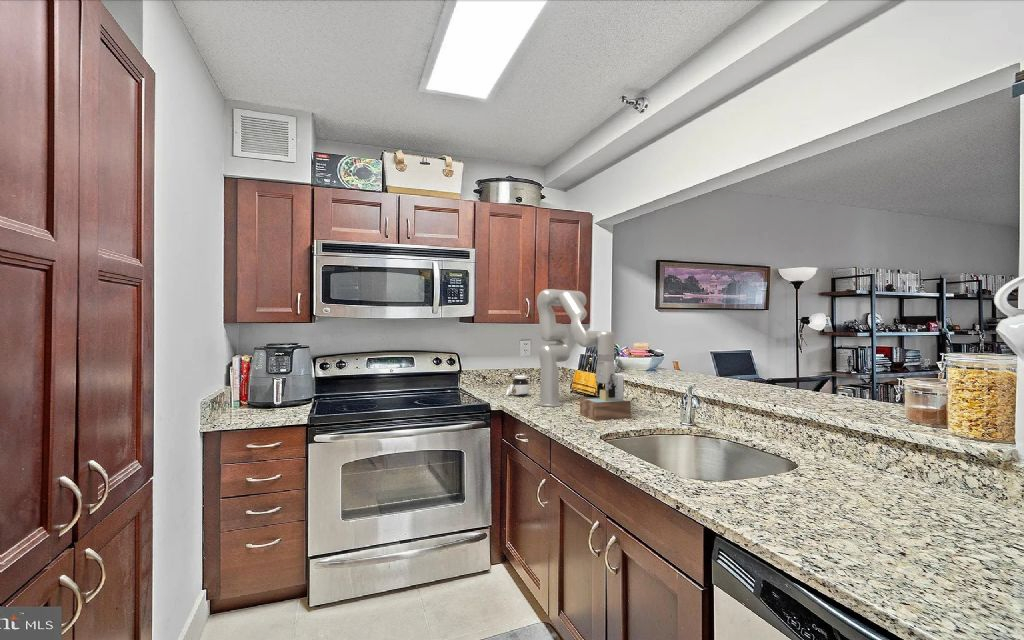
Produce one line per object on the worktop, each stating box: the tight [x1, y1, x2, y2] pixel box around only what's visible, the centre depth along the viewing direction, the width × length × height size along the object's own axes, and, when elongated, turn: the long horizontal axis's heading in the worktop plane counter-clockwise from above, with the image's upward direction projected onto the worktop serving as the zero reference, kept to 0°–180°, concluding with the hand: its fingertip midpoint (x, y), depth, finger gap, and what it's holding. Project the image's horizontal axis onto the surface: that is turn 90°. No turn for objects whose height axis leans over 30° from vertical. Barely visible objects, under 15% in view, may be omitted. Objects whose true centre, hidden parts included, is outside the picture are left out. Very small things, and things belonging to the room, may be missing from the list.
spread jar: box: [506, 374, 530, 398], centre depth 278 cm, size 12×11×12 cm
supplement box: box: [604, 372, 625, 400], centre depth 245 cm, size 10×9×17 cm
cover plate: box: [587, 389, 625, 402], centre depth 218 cm, size 11×16×6 cm
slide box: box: [579, 396, 632, 422], centre depth 218 cm, size 14×18×8 cm
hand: (605, 396), depth 218 cm, fingers open, 9 cm apart
